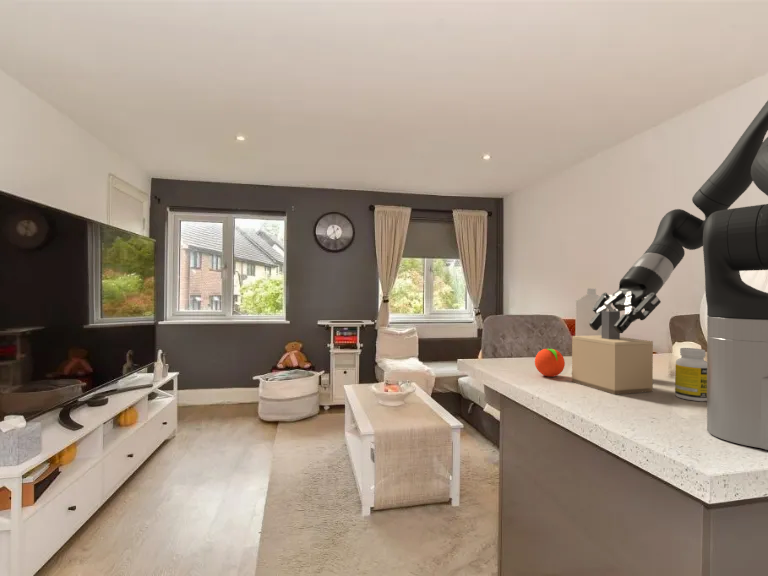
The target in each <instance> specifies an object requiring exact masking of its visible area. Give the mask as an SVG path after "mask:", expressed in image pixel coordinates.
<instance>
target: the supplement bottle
mask: <svg viewBox="0 0 768 576" xmlns="http://www.w3.org/2000/svg"><path fill="white" fill-rule="evenodd" d="M679 349H680V350H679V354H680V356H681V357H680V358H678V359H676V361H675V380H674V381H675V384H674V387H675V388H674V394H675V396H676V397H677V398H680V399H683V400H687V401H688V400H689V401H693V402H707V360H705V357H706V350H705V349H702V348H693V347H681V348H679Z"/></svg>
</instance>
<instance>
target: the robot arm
mask: <svg viewBox="0 0 768 576" xmlns="http://www.w3.org/2000/svg"><path fill="white" fill-rule="evenodd" d="M767 133H768V100H767V101H766V102H765V103H764V105H763V106H762V108H760V110H759V111H758V113H757V114H756V115H755V117H754V118H753V120H752V121H751V122H750V124H749V125H748V126H747V128H746V129H745V130H744V131H743V133H742V135H741V136H740V137H739V138H738V140H737V141H736V143H735V145H733V147H732V149H731V150H730V152H729V153H728V154H727V156H726V157H725V159H724V160H723V161H722V163H721V164H720V165H719V166H718V167H717V169H716V170H715V171H714V172H713V173H712V174H711V175H710V177H709V178H708V179H707V180H706V181H705V182H704V183H703V184H702V185H701V186H700V187H699V189H698V190H697V191H696V192H695V193H694V194H693V196H692V199H691V200H692V204H694V206H695V207H696V208H697V209H698V210H700V212H702V214H703V215H704V219H701V218H699V217H697V216H696V215H694V214H692V213H690V212H688V211H686V210H684V209H682V208H677V209H676V208H675V209H672V210H670V211H668V212H667V213H665V215H663V217H662V218H661V220H660V222H659V224H658V227H657V230H656V234H655V236H654V238H653V241H652V243H651V244H650V246H648V248H647V249H646V250H645V251H644V253H643V254H642V255H641V256H640V257H639V258H637V260H636V261H635V262H634V263H633V265H632V266H630V268H629V269H628V271H627V272H626V273H625V274H624V275H623V276H622V278H621V279H620V281H619V282H618V283H619V286H618V289H617V290H616V291H615V292H613V293H612V294H608V292H602V294H601V295H600V298H599V299H598V301H597V302H596V304H595V305H594V307H593V308H592V310H593V311H594V312H595V313H596V315H595V317H594V318H593V319H592V320H591V321H590V324H589V325H590V327H591V328H592V329H593V330H598V329H599V328H600V326H601V325H602V311H606V309H608V311H615V312H620V313H621V312H622V311H624V314H622V315H620V319H619V320H618V321H617V322H616V324H615V325H614V328H615V330H616V331H617V332H618V333H620V334H623V333H624V332H625V331H626V330H627V329H628V328H629V327H630V325H632V323H634V322H636V321H637V320H640V321H644V320H646V319H647V318H648V316H650V314H651V313H652V312H653V311H654V310H655V309H656V308H657V307H658V306H659V304H661V303H662V302H661V300H660V298H659V297H658V295H657V294H658V293H659V291H660V290H661V289H662V287H664V286H665V284H666V282H667V281H668V280H669V278H670V277H671V275H672V273H673V271H674V270H675V269H676V267H678V265H679V264H680V263H681V261H682V260H683V259H684V256H685V251H686V250H685V249H687V250H689V251H695V250H698V249H701V248H702V249H703V250H702V251H703V263H704V282H705V283H704V284H705V285H704V288H705V292H704V293H705V300H706V306H707V307H706V308H707V313H706V315H707V319H706V320H707V327H706V329H707V331H706V332H707V335H706V339H707V340H706V343H707V344H706V351H707V352H706V362H707V401H706V431H707V433H709V434H710V435H711V436H714V437H716V438H719V439H721V440H725V441H728V442H731V443H734V444H739V445H742V446H748V447H754V448H759V449H763V450H765V451H768V292H766V291H762V290H760V289H757V288H755V287H753V286H751V285H749V284H747V283H746V282H744V281H743V279H742V277H741V272H742V271H744V272H745V271H746V272H747V271H749V272H750V271H768V203H765V204H757V205H756V204H755V205H749V206H741V207H734V208H730V207H731V206H732V205H733V204H734V203H735V202H736V201H737V200H738V199H739V198H740V197H741V196H742V195H743V194H744V193H745V192H746V191H747V190H748V188H749V187H750V186H751V185H752V184H753V183H754V185H755V186H756V188H757V189H759V191H761V192H762V193H763V194H764V195H766V196H767V197H768V136H767V137H766V134H767ZM765 137H766V138H765ZM612 306H613V307H612ZM599 307H600V308H599ZM643 310H644V311H643Z"/></svg>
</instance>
